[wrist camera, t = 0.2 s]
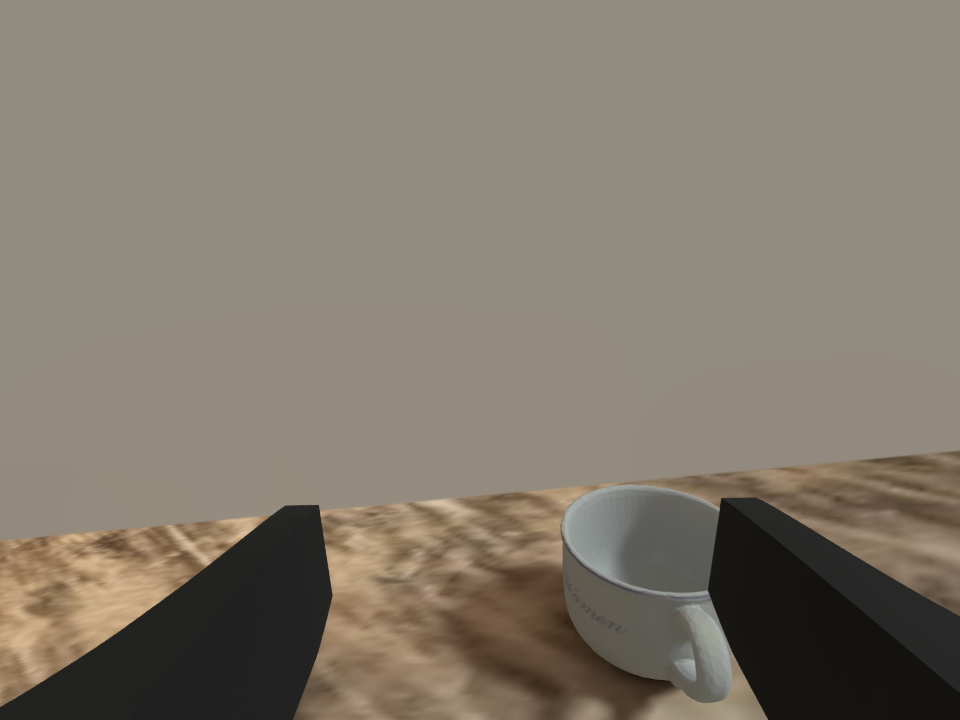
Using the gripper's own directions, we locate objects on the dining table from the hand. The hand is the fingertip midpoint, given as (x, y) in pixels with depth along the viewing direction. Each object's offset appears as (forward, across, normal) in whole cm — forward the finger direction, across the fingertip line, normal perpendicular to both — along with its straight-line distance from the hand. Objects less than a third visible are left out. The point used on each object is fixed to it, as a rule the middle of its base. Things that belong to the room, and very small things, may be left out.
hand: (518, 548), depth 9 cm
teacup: (+16, -9, +21) cm, 28 cm away
